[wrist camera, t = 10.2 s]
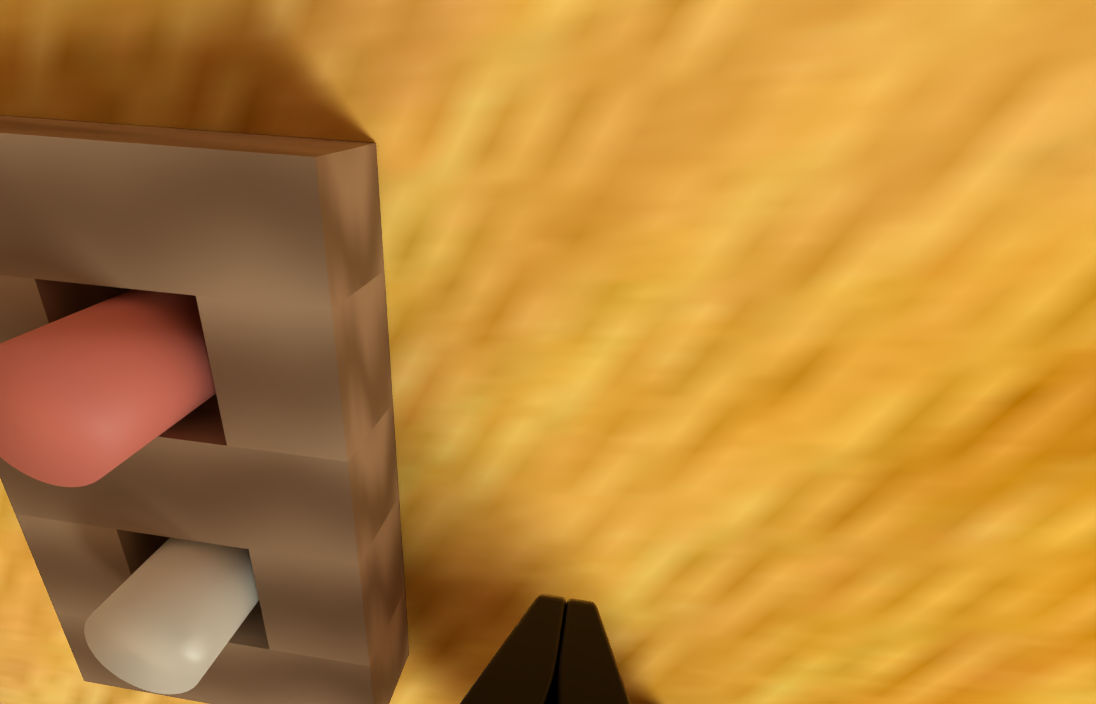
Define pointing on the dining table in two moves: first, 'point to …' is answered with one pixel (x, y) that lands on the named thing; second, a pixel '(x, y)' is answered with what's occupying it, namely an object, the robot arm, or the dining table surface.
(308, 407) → the press panel
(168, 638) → the grey plunger
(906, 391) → the dining table surface
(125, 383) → the red plunger
